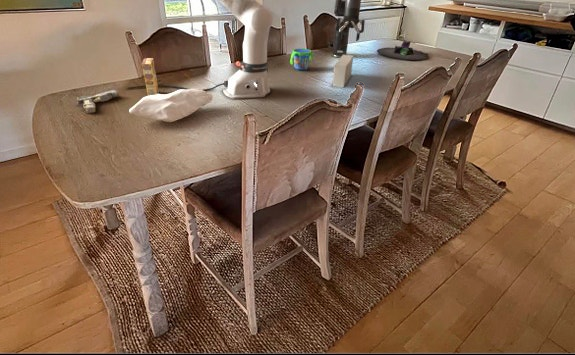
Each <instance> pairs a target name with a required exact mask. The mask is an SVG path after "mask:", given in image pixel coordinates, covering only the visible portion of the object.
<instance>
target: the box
mask: <svg viewBox="0 0 575 355" xmlns="http://www.w3.org/2000/svg"><path fill="white" fill-rule="evenodd" d="M353 64H354V55H350V54H347V55H342V57H341V58H338V60H337V61H336V63H335V64H334V66H333V67H334V68H333V77H332V86H333V87H338V88H344V87H345V86H346V84H347V82H348V80H349V79H350V78H351V76H352V70H353Z"/></svg>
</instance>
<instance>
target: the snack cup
mask: <svg viewBox="0 0 575 355" xmlns="http://www.w3.org/2000/svg"><path fill="white" fill-rule="evenodd" d="M313 59H314V57H313V52H312V50H311V49H308V48H294V49H292V53H291V55H290V58H289V63H290V65H292V66H294V69H296V70H298V71H305V70H308V68H309V64H310V62H313Z"/></svg>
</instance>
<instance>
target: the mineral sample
mask: <svg viewBox="0 0 575 355" xmlns="http://www.w3.org/2000/svg"><path fill="white" fill-rule="evenodd" d="M410 46H411V41H410V40H403V41H402V43H401V44H400V46H399V45H395V46H394V47H382V48H378V49H377V50H376V52H377V53H378V54H379V55H382V56H385V57H388V58H393V59H399V60H408V61H416V60H425V59H428V58H429V56H430V55H429V53H427V52H423V51H421V50H416V49H414V48H413V47H410Z"/></svg>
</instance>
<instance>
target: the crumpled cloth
mask: <svg viewBox="0 0 575 355" xmlns="http://www.w3.org/2000/svg"><path fill="white" fill-rule="evenodd" d="M213 97H214V96H213V94H212V93H210V92H208V91H204V90H203V89H201V88H188V89H182V88H180V89H177V90H175V91H173V92H171V93H167V94H163V93H158V94H156V95H150V96H148V95H146V96H144V97H142V98H141V99H140V100H139V101H138V102H137V103H136V104H134V105H133V106H132V107H131V108H129V114H130V115H135V116H140V117H145V118H146V119H149V120H152V121H155V120H158V121H163V122H166V123H174V122H176V121H178V120H181V119H183V118H185V117H188V116H190V115H192V114H193V113H195V112H196V111H197V110H199V109H200V108H202V107H204V106H206V105H207V104H210V102H211V101H212V100H213V99H214V98H213Z"/></svg>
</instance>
